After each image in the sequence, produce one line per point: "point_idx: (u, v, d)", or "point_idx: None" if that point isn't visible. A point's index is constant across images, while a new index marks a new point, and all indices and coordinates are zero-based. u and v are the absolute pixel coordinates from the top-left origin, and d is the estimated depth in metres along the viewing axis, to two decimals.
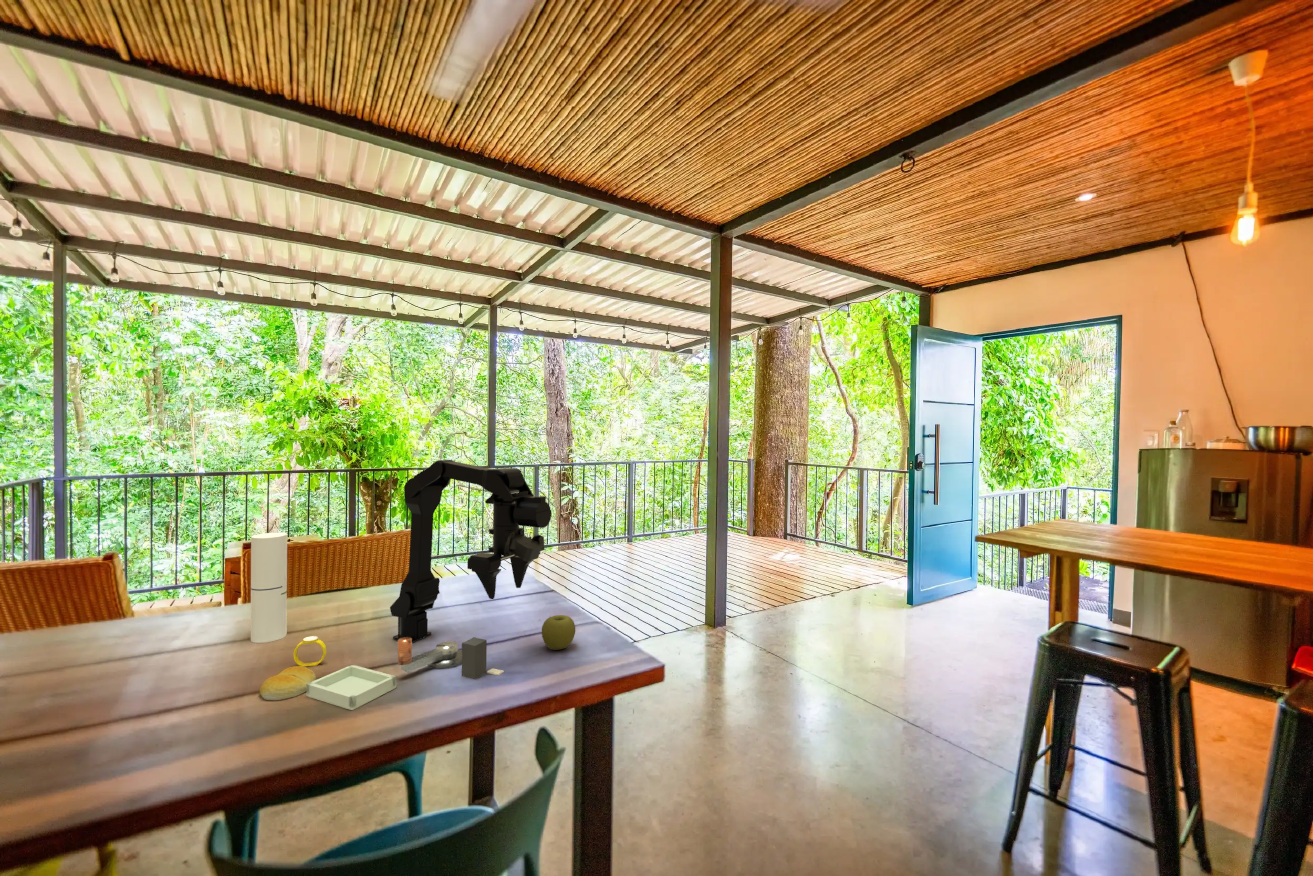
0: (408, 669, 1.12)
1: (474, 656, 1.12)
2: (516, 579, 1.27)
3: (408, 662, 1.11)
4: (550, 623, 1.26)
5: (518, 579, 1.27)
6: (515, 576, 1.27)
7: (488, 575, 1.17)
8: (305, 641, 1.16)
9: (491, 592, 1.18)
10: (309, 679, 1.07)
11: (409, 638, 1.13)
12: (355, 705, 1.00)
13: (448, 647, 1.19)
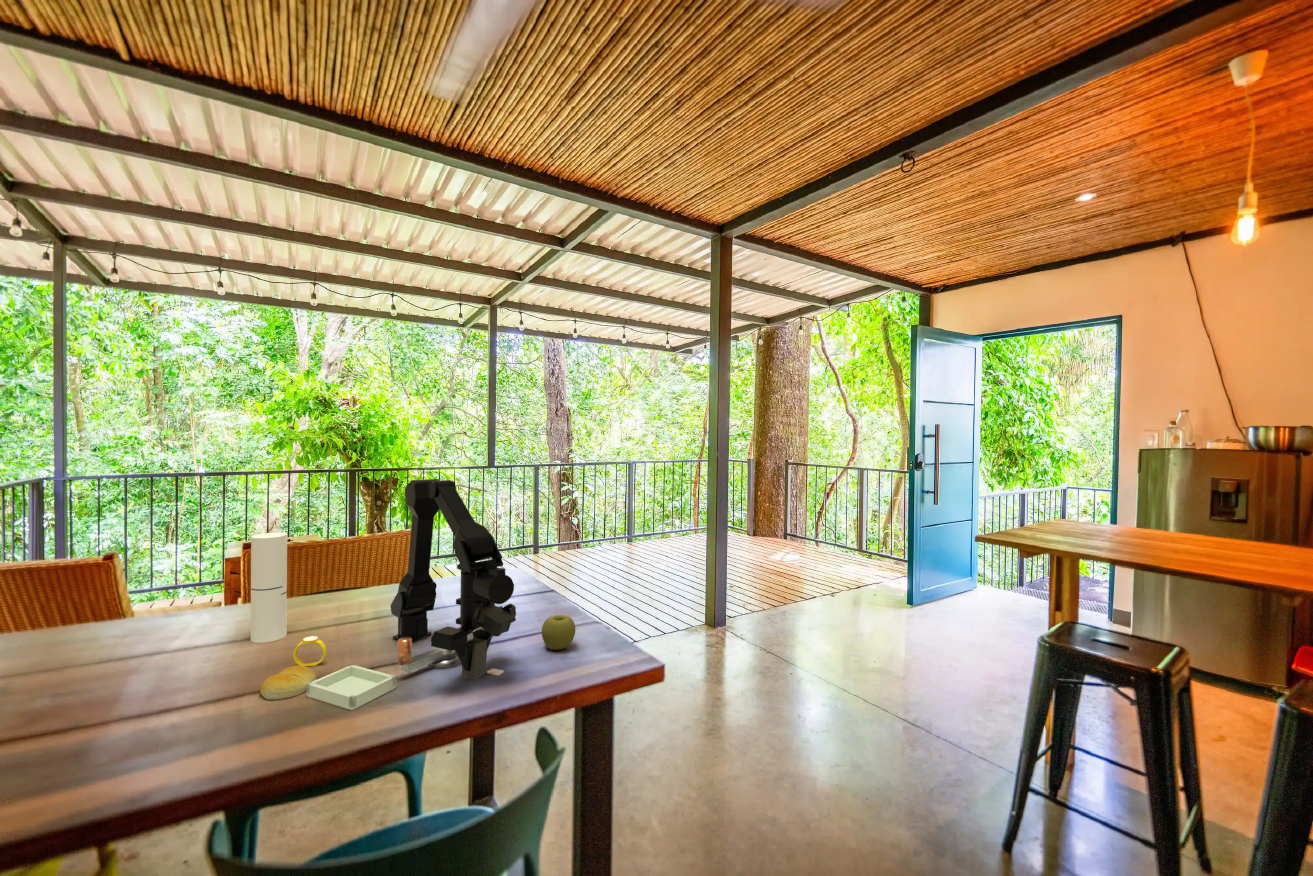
0: (408, 669, 1.12)
1: (474, 656, 1.12)
2: None
3: (408, 662, 1.11)
4: (550, 623, 1.26)
5: None
6: None
7: (463, 646, 1.11)
8: (305, 641, 1.16)
9: (467, 664, 1.12)
10: (309, 679, 1.07)
11: (409, 638, 1.13)
12: (355, 705, 1.00)
13: None
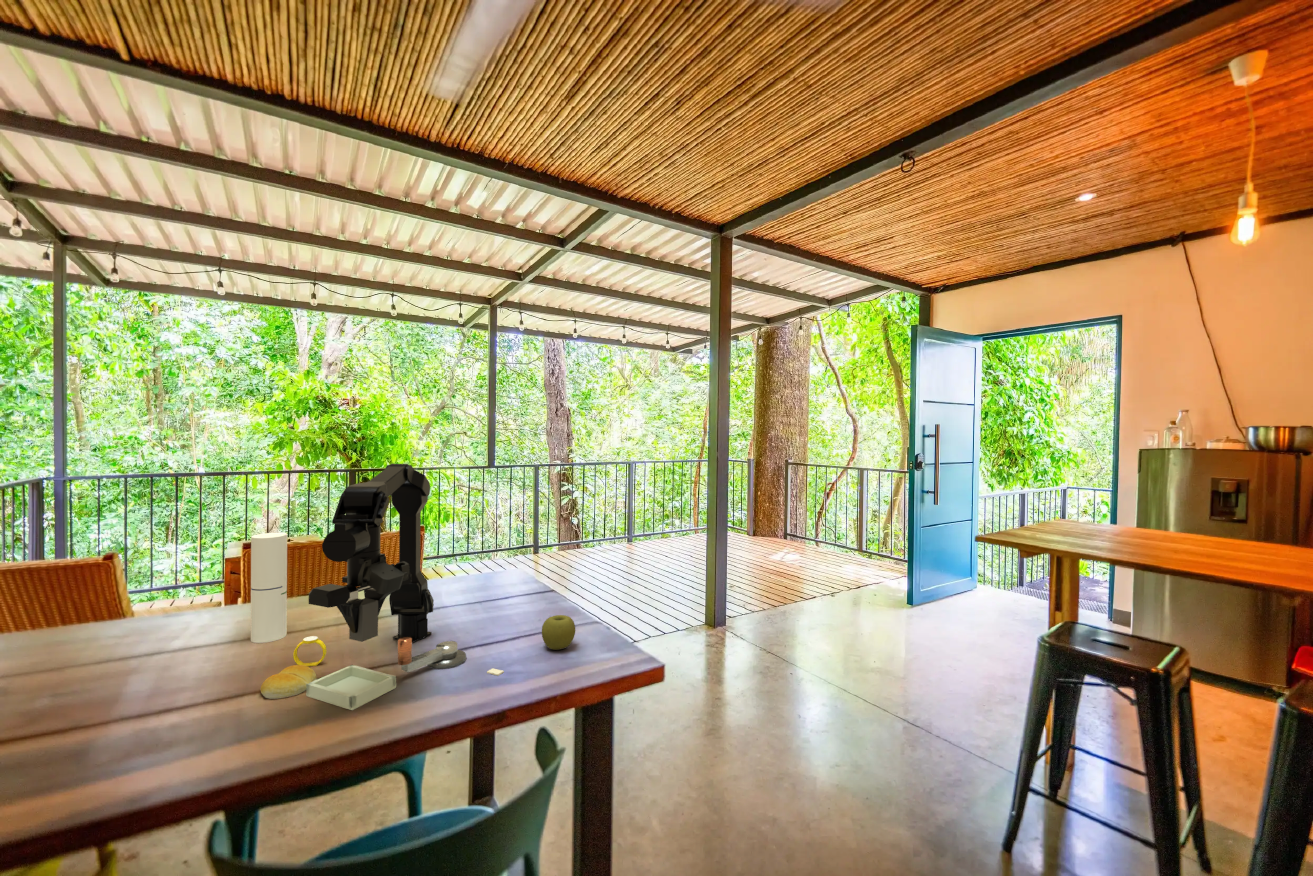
0: (408, 669, 1.12)
1: (362, 616, 1.04)
2: None
3: (408, 662, 1.11)
4: (550, 623, 1.26)
5: None
6: None
7: (349, 606, 1.03)
8: (305, 641, 1.16)
9: (353, 625, 1.04)
10: (309, 678, 1.07)
11: (409, 638, 1.13)
12: (355, 705, 1.00)
13: (448, 647, 1.19)
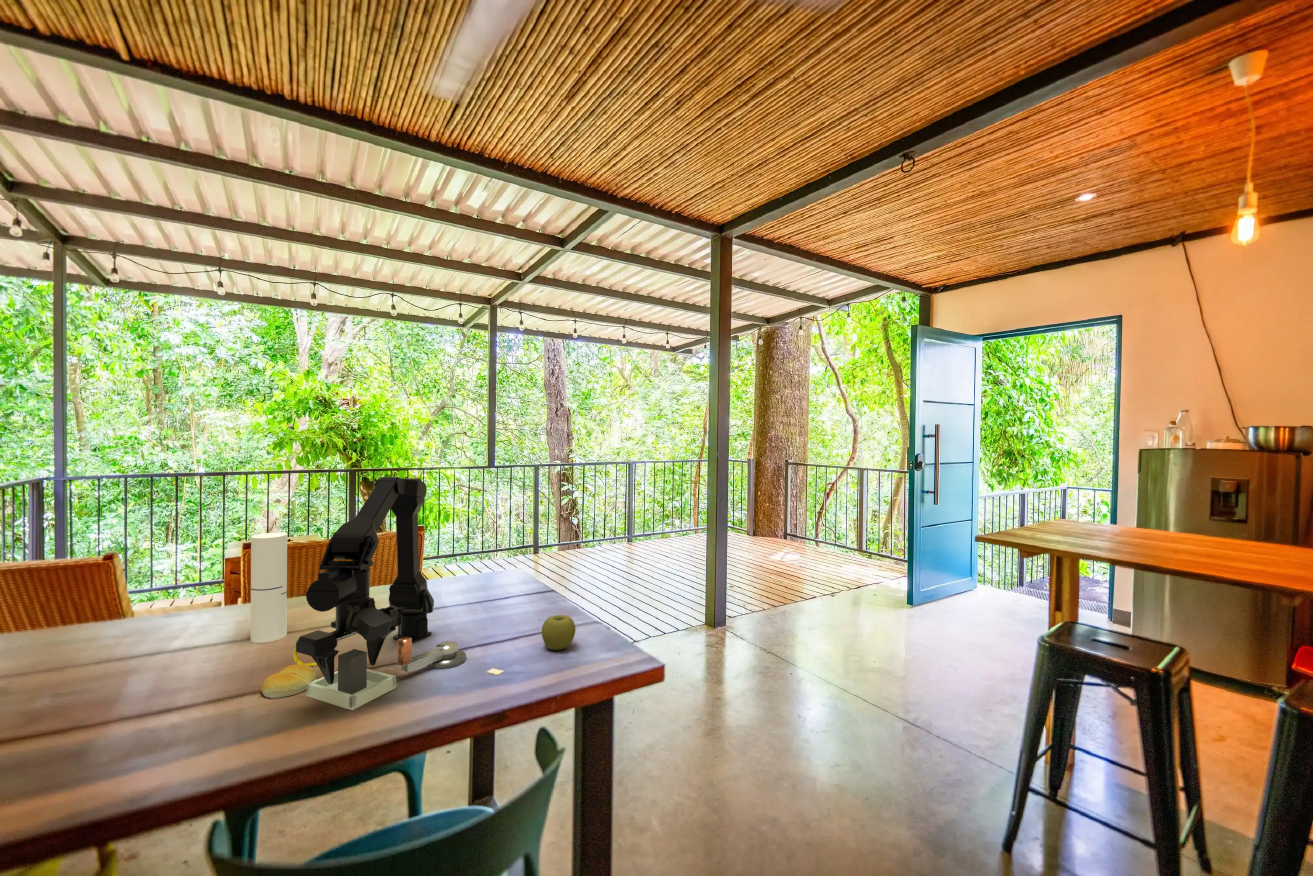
0: (408, 669, 1.12)
1: (350, 670, 1.04)
2: (370, 655, 1.10)
3: (408, 662, 1.11)
4: (550, 623, 1.26)
5: (372, 655, 1.10)
6: (369, 651, 1.10)
7: (324, 657, 1.01)
8: None
9: (329, 677, 1.01)
10: (309, 677, 1.08)
11: (409, 638, 1.13)
12: (355, 705, 1.00)
13: (448, 647, 1.19)
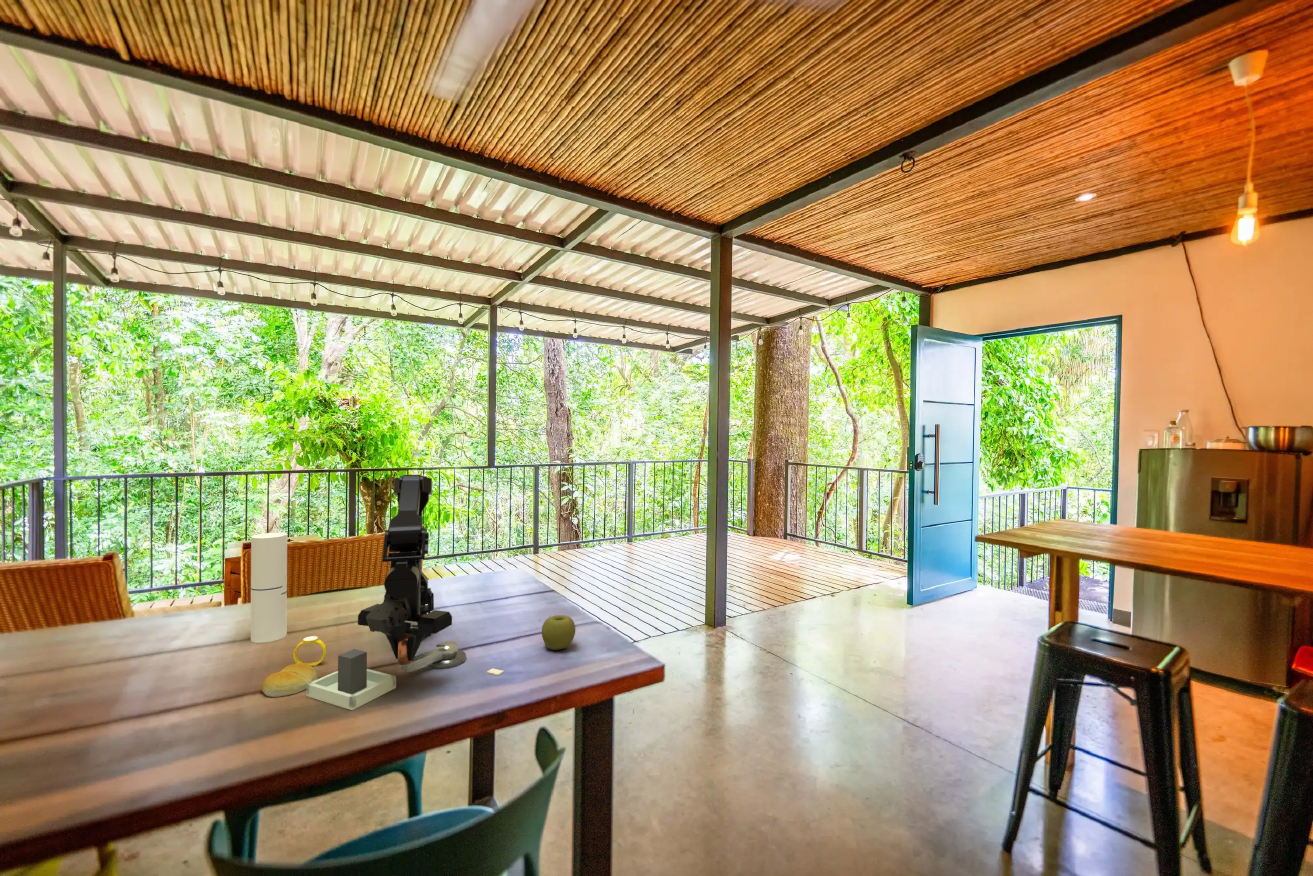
0: (408, 669, 1.12)
1: (350, 670, 1.04)
2: None
3: (408, 662, 1.11)
4: (550, 623, 1.26)
5: None
6: None
7: None
8: (305, 641, 1.16)
9: None
10: (310, 676, 1.08)
11: None
12: (355, 705, 1.00)
13: (448, 647, 1.19)
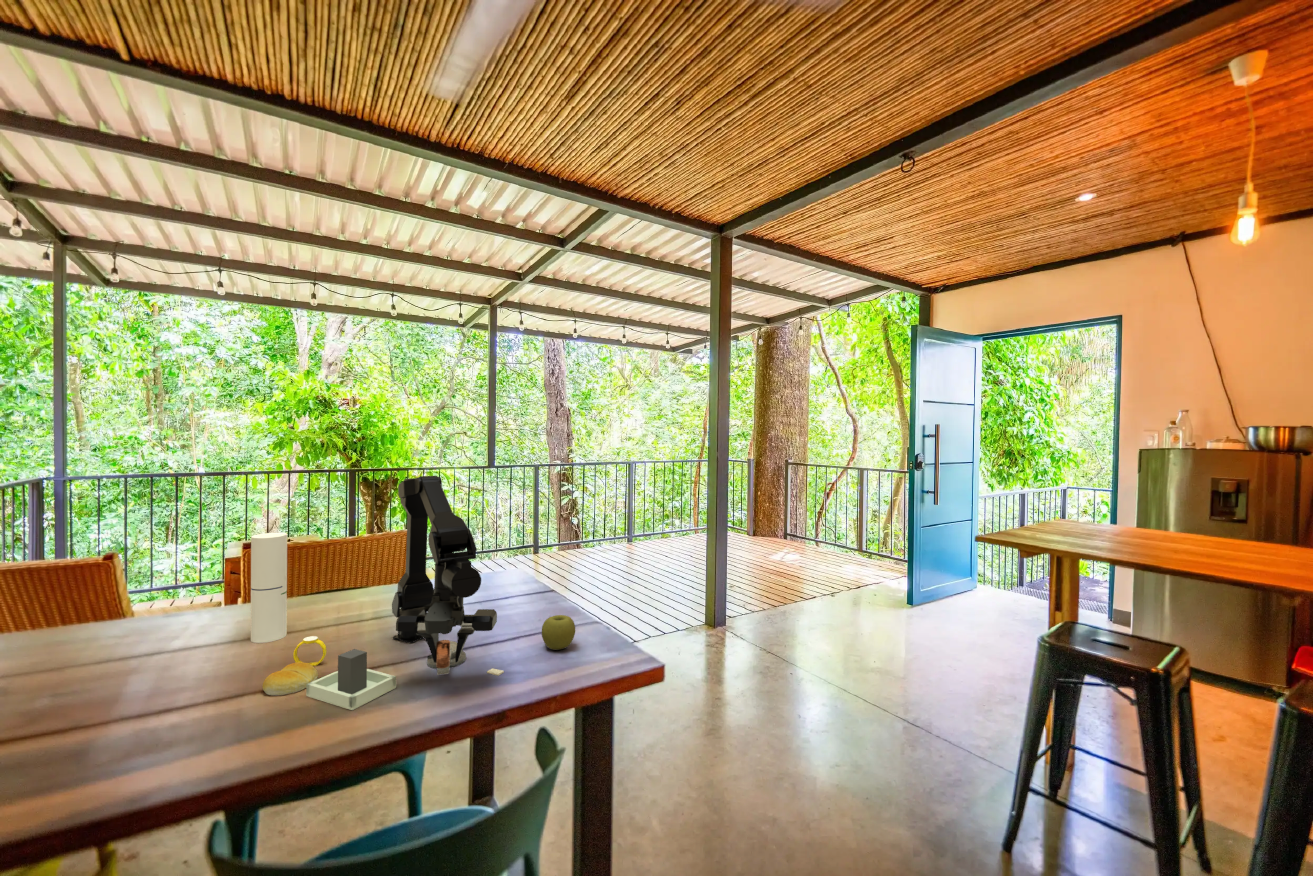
0: (448, 670, 1.11)
1: (350, 670, 1.04)
2: None
3: (449, 663, 1.11)
4: (550, 623, 1.26)
5: None
6: None
7: None
8: (305, 641, 1.16)
9: None
10: (310, 675, 1.08)
11: (445, 640, 1.12)
12: (355, 705, 1.00)
13: (453, 645, 1.20)
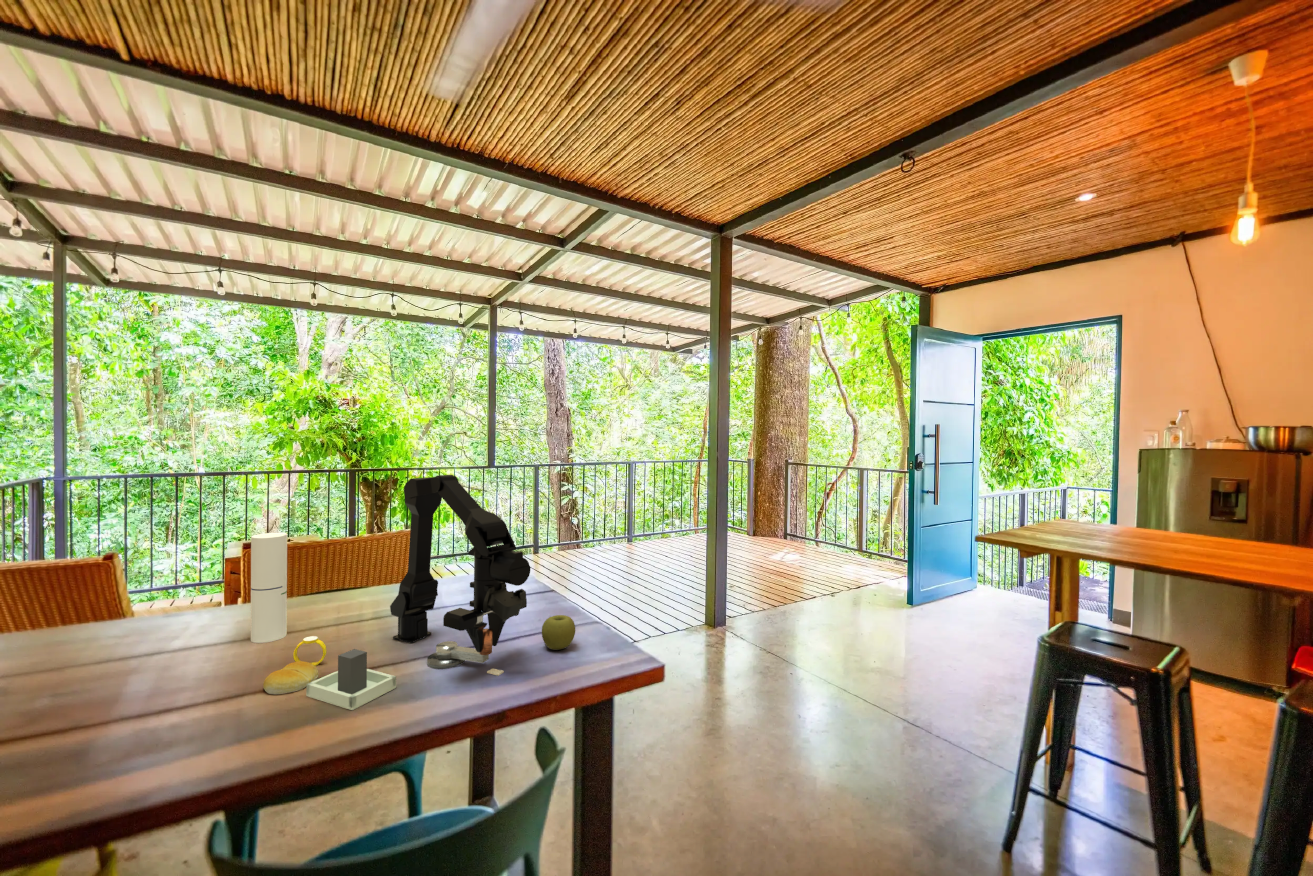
0: None
1: (350, 670, 1.04)
2: (492, 637, 1.20)
3: None
4: (550, 623, 1.26)
5: (494, 636, 1.20)
6: None
7: (475, 628, 1.15)
8: (305, 641, 1.16)
9: (478, 646, 1.15)
10: (310, 674, 1.09)
11: (483, 629, 1.18)
12: (355, 705, 1.00)
13: (453, 642, 1.22)
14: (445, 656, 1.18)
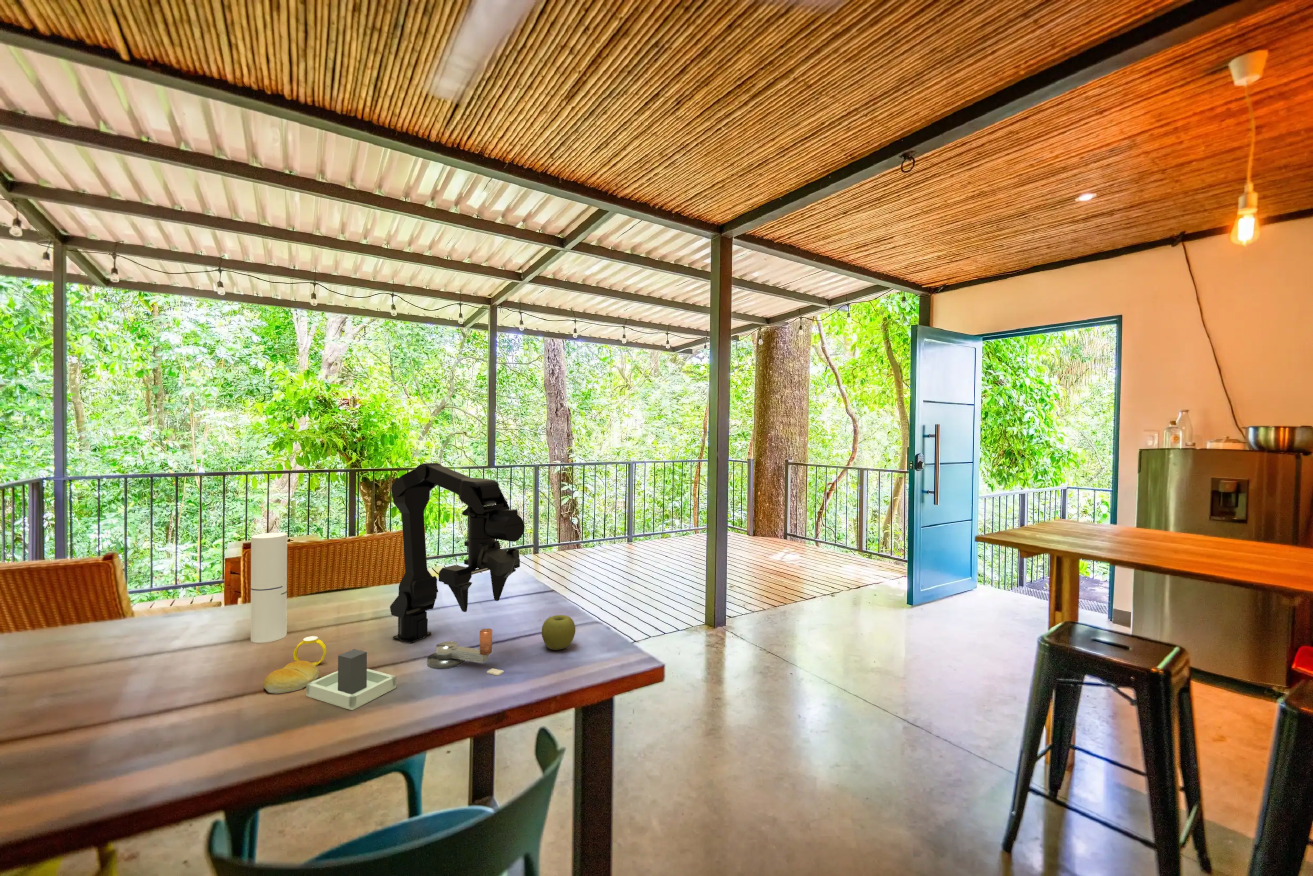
0: None
1: (350, 670, 1.04)
2: (495, 592, 1.26)
3: None
4: (550, 623, 1.26)
5: (496, 591, 1.25)
6: (494, 589, 1.26)
7: (460, 588, 1.17)
8: (305, 641, 1.16)
9: (463, 605, 1.17)
10: (311, 674, 1.09)
11: (483, 629, 1.18)
12: (355, 705, 1.00)
13: (453, 642, 1.22)
14: (445, 656, 1.18)
